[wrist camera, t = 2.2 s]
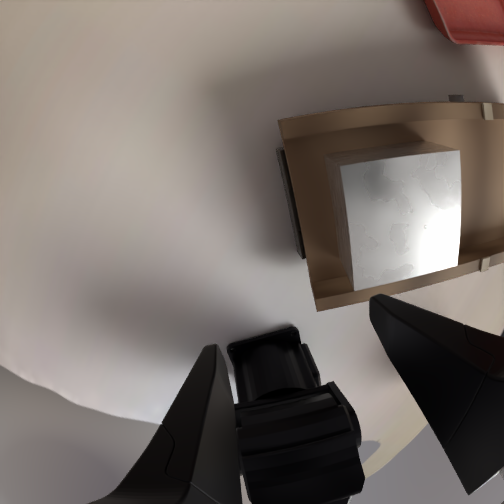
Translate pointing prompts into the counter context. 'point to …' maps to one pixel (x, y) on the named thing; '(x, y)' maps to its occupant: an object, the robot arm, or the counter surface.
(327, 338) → the counter surface
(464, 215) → the wooden tray
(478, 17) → the plant saucer
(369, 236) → the steel block
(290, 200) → the stand
